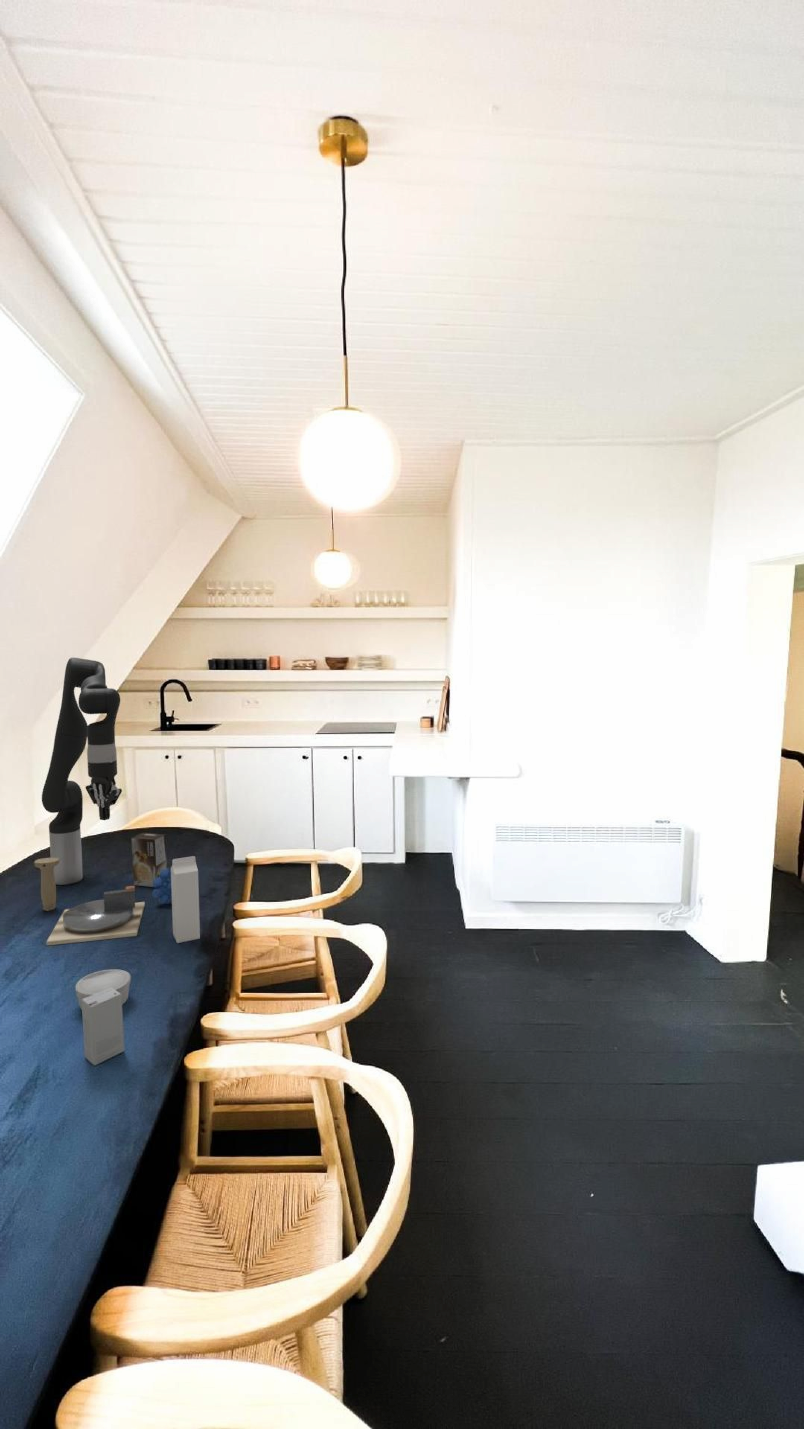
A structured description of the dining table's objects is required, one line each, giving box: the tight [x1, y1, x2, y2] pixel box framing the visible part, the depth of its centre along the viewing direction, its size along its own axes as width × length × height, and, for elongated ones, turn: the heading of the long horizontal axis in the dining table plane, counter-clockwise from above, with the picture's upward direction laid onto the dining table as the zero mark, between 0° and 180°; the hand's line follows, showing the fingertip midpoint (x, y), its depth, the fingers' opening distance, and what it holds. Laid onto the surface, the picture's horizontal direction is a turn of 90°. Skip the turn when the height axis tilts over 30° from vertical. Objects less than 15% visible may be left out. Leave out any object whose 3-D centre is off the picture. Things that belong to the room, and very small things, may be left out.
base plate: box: [46, 901, 146, 947], centre depth 185 cm, size 22×22×1 cm
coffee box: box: [131, 832, 168, 888], centre depth 216 cm, size 9×6×16 cm
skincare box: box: [81, 988, 125, 1066], centre depth 126 cm, size 6×4×12 cm
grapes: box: [151, 867, 172, 905], centre depth 200 cm, size 12×7×12 cm, turn 112°
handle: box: [34, 857, 59, 912], centre depth 195 cm, size 5×6×15 cm
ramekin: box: [74, 968, 132, 1010], centre depth 144 cm, size 11×11×5 cm
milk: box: [170, 855, 201, 944], centre depth 176 cm, size 6×6×22 cm
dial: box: [63, 885, 136, 933], centre depth 185 cm, size 19×18×8 cm
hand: (104, 819), depth 187 cm, fingers closed
